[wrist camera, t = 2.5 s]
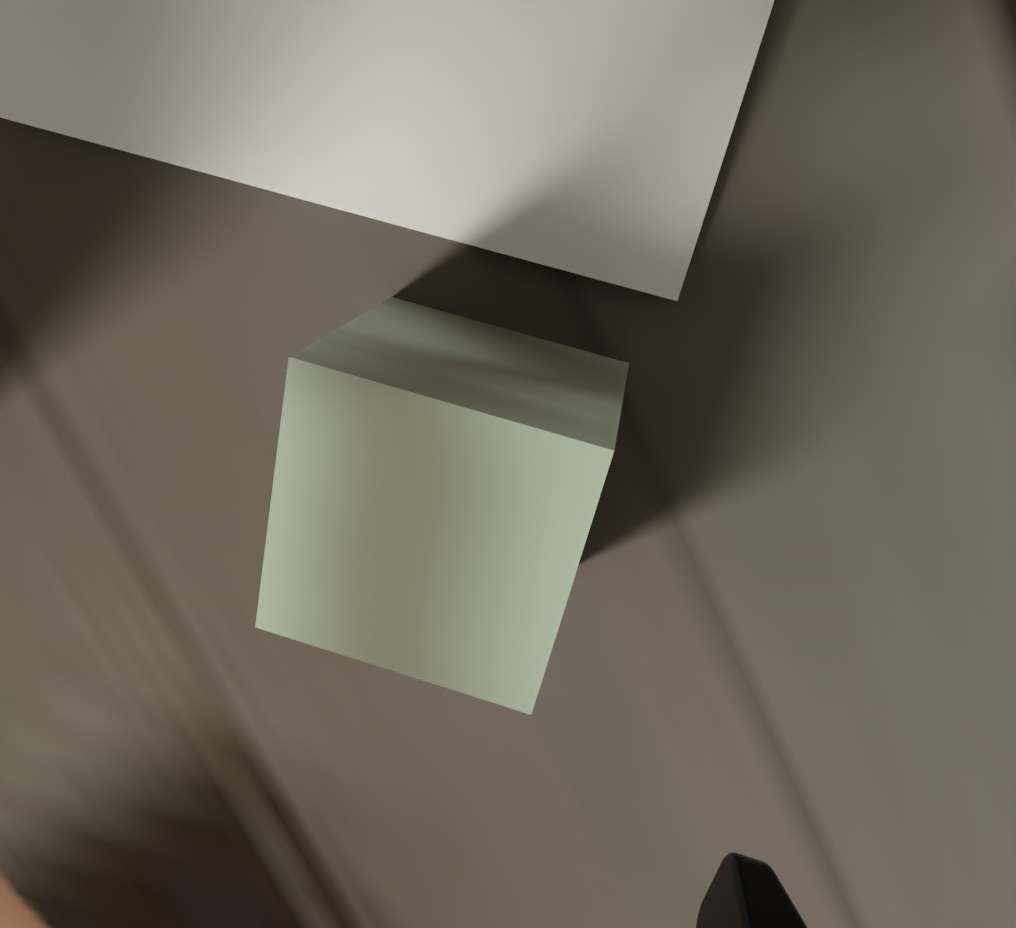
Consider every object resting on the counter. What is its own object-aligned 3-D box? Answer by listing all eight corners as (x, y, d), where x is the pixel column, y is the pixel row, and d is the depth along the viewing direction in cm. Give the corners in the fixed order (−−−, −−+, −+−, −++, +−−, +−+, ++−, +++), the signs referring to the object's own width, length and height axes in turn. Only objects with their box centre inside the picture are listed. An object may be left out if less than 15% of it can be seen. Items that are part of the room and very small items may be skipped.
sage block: (629, 362, 16) (614, 450, 12) (565, 569, 18) (531, 714, 14) (393, 296, 17) (289, 357, 12) (356, 506, 19) (255, 627, 14)
